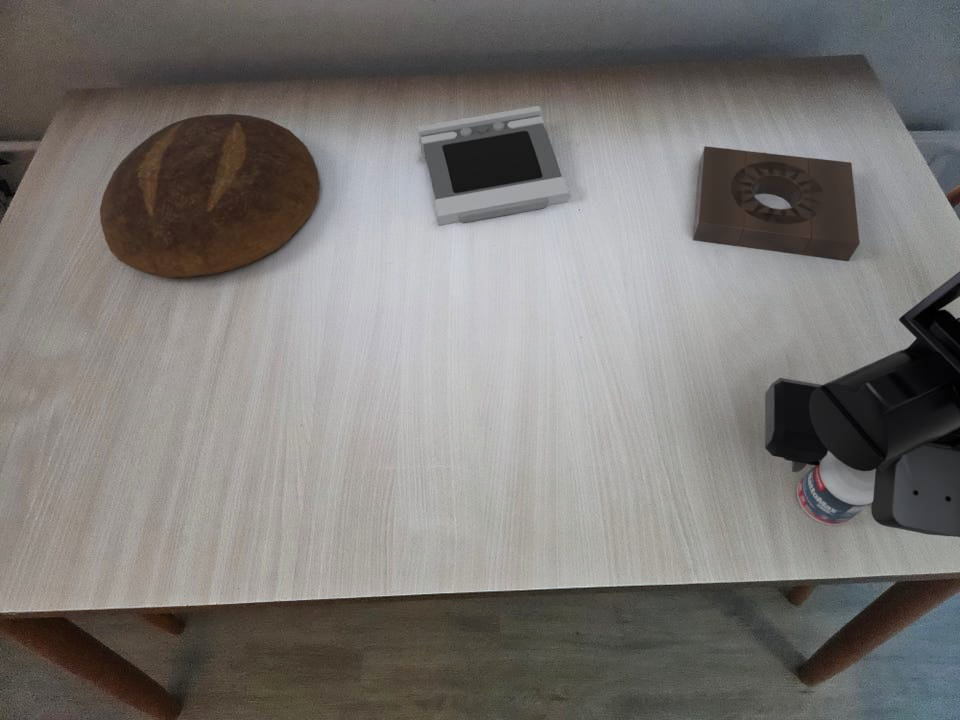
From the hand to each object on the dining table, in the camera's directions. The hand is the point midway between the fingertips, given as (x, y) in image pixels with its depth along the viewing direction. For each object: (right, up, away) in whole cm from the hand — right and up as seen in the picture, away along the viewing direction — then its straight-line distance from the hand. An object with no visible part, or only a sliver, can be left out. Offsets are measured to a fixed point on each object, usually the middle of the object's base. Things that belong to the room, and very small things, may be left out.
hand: (848, 477), depth 57 cm
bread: (-68, +31, +30) cm, 80 cm away
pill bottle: (0, -3, +5) cm, 5 cm away
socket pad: (+4, +29, +25) cm, 39 cm away
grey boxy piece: (-31, +35, +31) cm, 56 cm away
